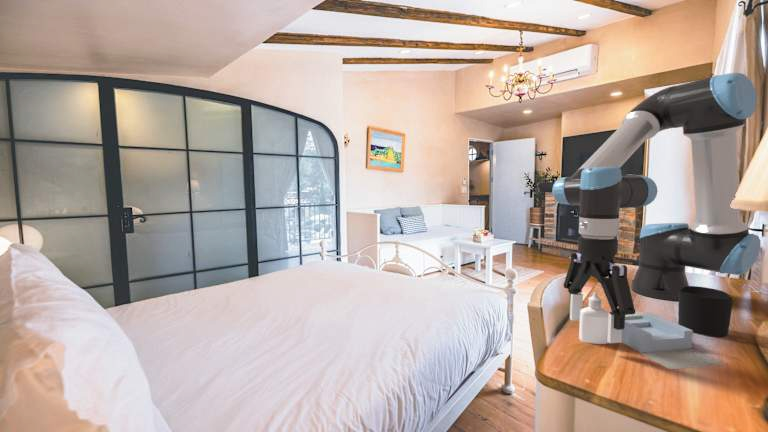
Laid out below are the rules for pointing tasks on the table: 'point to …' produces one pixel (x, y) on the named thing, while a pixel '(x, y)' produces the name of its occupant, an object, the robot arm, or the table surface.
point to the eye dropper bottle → (593, 322)
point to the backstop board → (640, 316)
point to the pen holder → (705, 310)
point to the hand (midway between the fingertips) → (593, 330)
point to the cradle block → (656, 334)
